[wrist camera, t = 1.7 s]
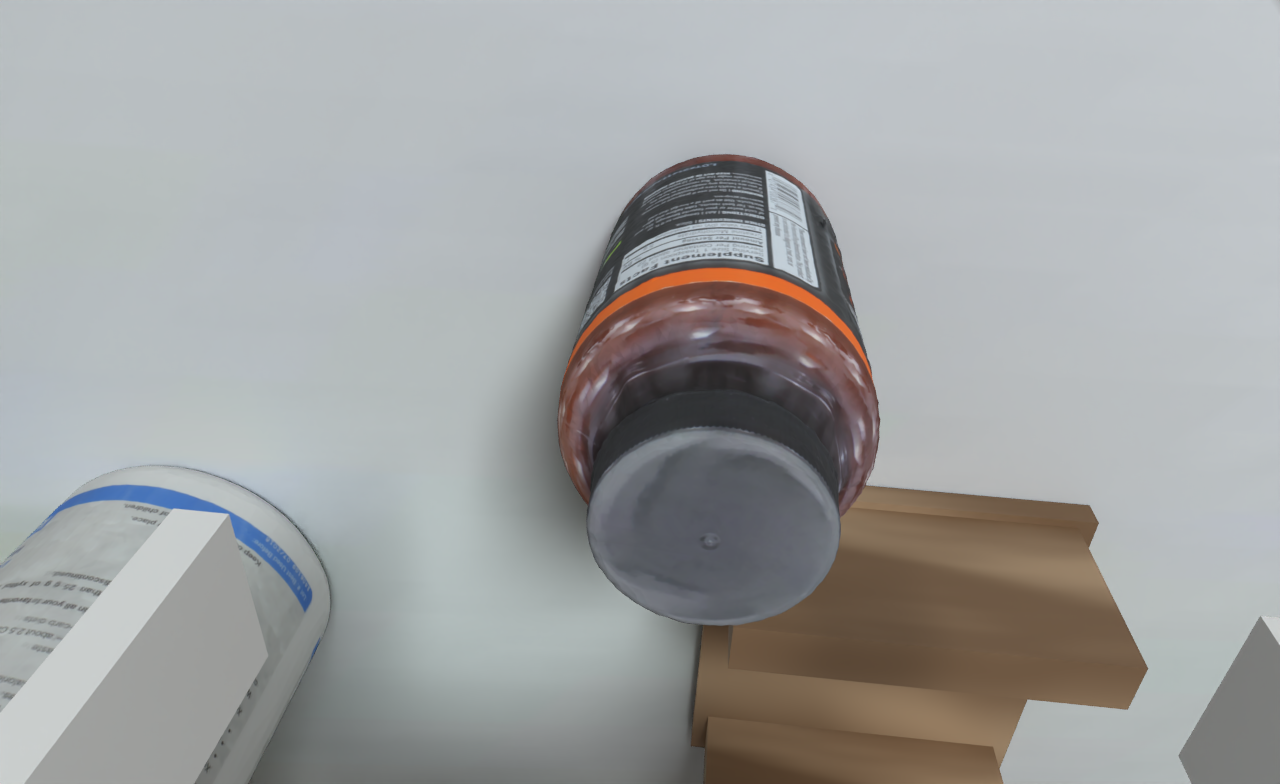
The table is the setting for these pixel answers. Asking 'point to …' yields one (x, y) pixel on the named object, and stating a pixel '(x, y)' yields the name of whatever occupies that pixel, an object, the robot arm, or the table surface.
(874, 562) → the holder cradle
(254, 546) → the supplement tub
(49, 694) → the robot arm
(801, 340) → the supplement bottle
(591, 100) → the table surface
